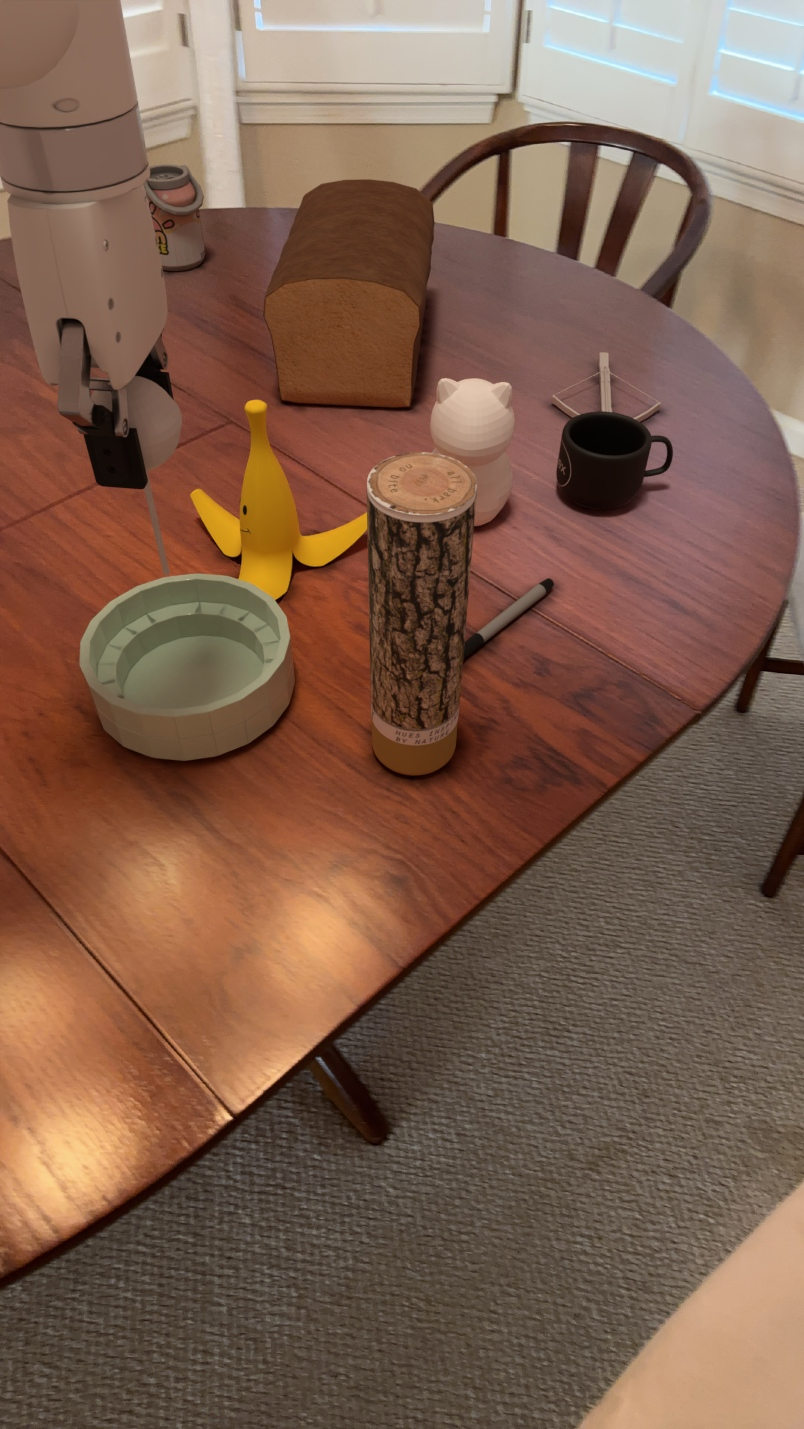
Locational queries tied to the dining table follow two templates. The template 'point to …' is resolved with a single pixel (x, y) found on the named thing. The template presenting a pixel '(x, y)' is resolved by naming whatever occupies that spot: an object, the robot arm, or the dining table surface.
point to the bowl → (188, 666)
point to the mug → (605, 459)
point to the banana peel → (269, 519)
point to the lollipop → (150, 434)
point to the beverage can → (176, 216)
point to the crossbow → (604, 391)
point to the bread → (352, 295)
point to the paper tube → (418, 605)
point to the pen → (507, 616)
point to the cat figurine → (477, 437)
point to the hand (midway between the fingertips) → (139, 453)
